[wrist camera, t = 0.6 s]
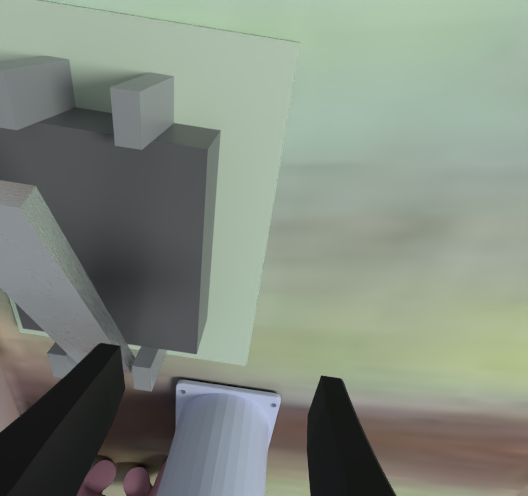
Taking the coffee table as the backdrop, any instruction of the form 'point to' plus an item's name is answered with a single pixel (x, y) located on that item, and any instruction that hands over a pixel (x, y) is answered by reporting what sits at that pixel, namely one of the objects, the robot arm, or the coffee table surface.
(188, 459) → the robot arm
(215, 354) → the board
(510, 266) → the coffee table surface
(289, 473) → the coffee table surface
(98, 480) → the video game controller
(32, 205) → the block
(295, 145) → the coffee table surface
